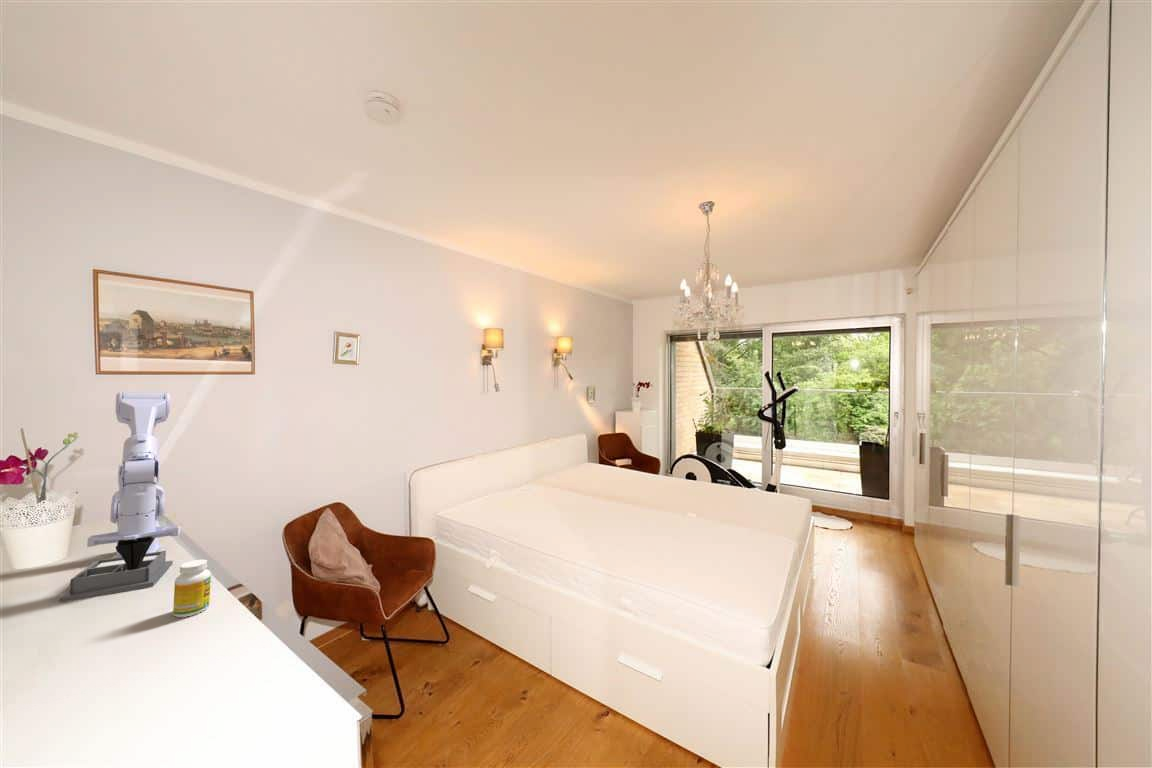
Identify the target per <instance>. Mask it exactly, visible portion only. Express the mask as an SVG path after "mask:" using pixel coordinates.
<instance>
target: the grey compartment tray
mask: <svg viewBox="0 0 1152 768" xmlns="http://www.w3.org/2000/svg"><path fill="white" fill-rule="evenodd" d="M166 551H167V550H162V551H156V552H153V553H146V554H145V557H148V556H155V555H158V556H157V557H156V558H155V559H151V560H144V561H143V562H142V565H141V568H140V569H133V570H128V569H127V566H126V563H123V564H116V565H109V566H102V567H97V566H98V565H99V564H101V563H105V562H112V561H120V560H124V559H123V558H122V557H116V558H112V557H110V558H103V559H96V560H95V561H93V562H92V563H91V564H90V565H88V566H87V567H86V568H84V569H83V570H82V571H80V572H78V574H76V575H75V576H73V577H72V578H71V579H70V583H69V585H70V586H69V589H68V590H67V591H65V592H64V593H63V594H62V595H61V596H59V597H58V603H65V602H71V601H76V600H82V599H88V598H93V597H99V596H100V597H101V596H105V595H111V594H118V593H125V592H129V591H135V590H142V589H147V588H153V587H154V586H156V584H157V583H158V582H159V580H160V579H162V577H163V576H164V575H165V573H167V571H168V570H169V569H170V568H171V567H172V565H173V560H166V555H167V553H166ZM170 566H171V567H170ZM144 567H146V568H144ZM169 567H170V568H169ZM125 570H127V571H125ZM110 572H111V573H110ZM104 573H107V574H104ZM97 574H100V575H97ZM90 575H93V576H90Z"/></svg>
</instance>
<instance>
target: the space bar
mask: <svg viewBox="0 0 1152 768" xmlns="http://www.w3.org/2000/svg"><path fill="white" fill-rule="evenodd" d="M157 556H158V555H155V556H148V557H144V559H143V561H144V560H151V559H155V558H156V557H157ZM123 563H125V561H124V560H120V561H112V562H105V563H101V564H99V565H98V566H97V567H102V566H109V565H116V564H123Z"/></svg>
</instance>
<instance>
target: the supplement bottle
mask: <svg viewBox="0 0 1152 768" xmlns="http://www.w3.org/2000/svg"><path fill="white" fill-rule="evenodd" d="M207 568H208V560H207V559H194V560H190V561H186V562H184V563H182V564H181V565H180V566H179V575H178V576H176V578H175V580H174V588H173V589H174V590H173V591H174V592H173V593H174V594H173V608H172V610H173V612H172V614H173V616H174V617H175V616H176V617H175V618H180V617H182V618H188V617H187V616H189V617H192V615H193V616H196V615H198V613H199V614H201V613H203V612H205V611H206V610H207V609H209V607H210V601H211V600H210V599H211V583H212V582H211V579H212V573H211V571H210V569H209V570H208V569H207ZM204 610H205V611H204ZM200 612H201V613H200ZM195 614H196V615H195Z"/></svg>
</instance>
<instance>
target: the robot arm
mask: <svg viewBox="0 0 1152 768" xmlns="http://www.w3.org/2000/svg"><path fill="white" fill-rule="evenodd" d="M170 406H171V394H170V393H169V392H127V391H126V392H125V391H124V392H123V391H119V392H118V393H117V394H116V397H115V415H116V416H115V417H116V420H117V421H118V423H121V424H125V425H128V428H129V429H130V436H129V437H128V438H126V439H125V440H124V442H123V448H122V458H121V459H122V461H121V463H119V465H118V469H117V470H118V471H117V483H118V490H117V491H115V492H114V494H113V495H112V499H111V500H112V501H111V505H110V518H109V519H110V520H109V521H110V522H111V523H112V524H116V527H117V531H113V532H108V533H103V534H95V535H93V534H92V535H91V536H89V537H88V538H87V545H86V548H89V547H95V546H99V545H106V544H108V545H109V544H114V543H115V544H116V546H115V550H116V551H115V555H114V556H112V557H111V558H116V557H122V558H123V559H124V561H125V563H126V566H127V569H128V570H133V569H140V568H141V565H142V562H143V559H144V557H145V554H146V553H153V552H158V551H159V549H161V548H162V547H163V545H164V543H159V538H162V537H163V538H165V537H171V536H172V537H177V536H179V535H180V534H181V531H182V530H181V528H182V526H181V525H171V526H170V525H169V526H160V522H159V521H158V518H161V517H162V516H163V515H164V514H165V501H166V499H165V489H164V488H163V487H162V486H160V485H158V483H159V482H160V479H161V478H160V477H161V476H160V475H161V461H160V457H159V440H158V438H157V437H155V436H154V431H155V429H156V427H157V425H158V424H160V423H164V422H167V419H168V418H169V414H170V410H171V409H170V408H171V407H170ZM155 478H156V482H155Z"/></svg>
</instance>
